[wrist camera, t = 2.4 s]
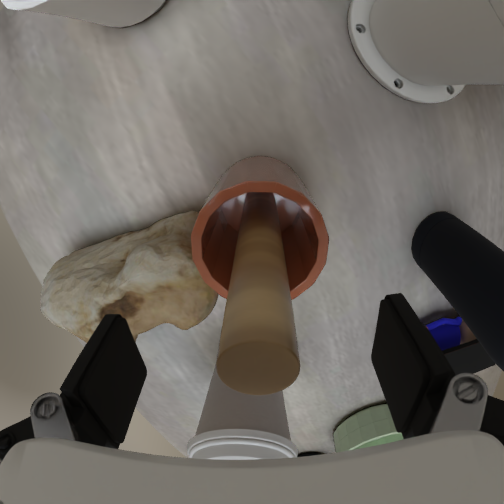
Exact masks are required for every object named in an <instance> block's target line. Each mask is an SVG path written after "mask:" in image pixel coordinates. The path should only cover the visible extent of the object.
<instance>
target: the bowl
mask: <svg viewBox="0 0 504 504" xmlns="http://www.w3.org/2000/svg"><path fill="white" fill-rule="evenodd" d="M333 438H334V446H335V452H343V451H349V450H355V449H360V448H366V447H371V446H376V445H381V444H386V443H390V442H395V441H399V440H403V436H402V433H401V432H400V433H398V432H397V431H396V428H395V425H394V422H393V419H392V416H391V413H390V410H389V408H388V405H387V404H381V405H376V406H373V407H369V408H367V409H364V410H362V411H359V412H357V413H355V414H354V415H352V416H351V417H349V418H348V419H346V420H345V421H344V422H343V423H342V424H341V425H339V426H338V427H337V429H336V431H335V432H334V434H333ZM411 438H412V437H411Z"/></svg>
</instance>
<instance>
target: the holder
mask: <svg viewBox="0 0 504 504" xmlns="http://www.w3.org/2000/svg"><path fill="white" fill-rule="evenodd" d="M249 192H264V193H273V195H274V196H275V199H276V205H277V211H278V217H279V223H280V229H281V235H282V241H283V248H284V254H285V261H286V267H287V274H288V281H289V287H290V294H291V300H292V299H294V298H296V297H297V296H299V295H300V294H301V293H303V292H304V291H305V290H306V289H308V288H309V287H310V286H312V285H313V284H314V282H315V281H316V279H317V277H318V276H319V274H320V272H321V271H322V269H323V267H324V266H325V264H326V260H327V252H328V244H329V236H328V233H327V230H326V227H325V223H324V220H323V217H322V215H321V213H320V211H319V209H318V208H317V206H316V204H315V202H314V201H313V199H312V197H311V196H310V194H309V192H308V191H307V189H306V187H305V185H304V184H303V182H302V181H301V179H300V178H299V176H298V175H297V174H296V173H295V172H294V170H292V169H291V168H290V167H289V166H288V165H287V164H285V163H284V162H282V161H280V160H277V159H275V158H271V157H266V156H254V157H249V158H246V159H243V160H241V161H238V162H237V163H235V164H234V165H232V166H231V167H230V168H229V169H228V170H227V171H226V172H225V173H224V174H223V175H222V176H221V178H220V179H219V181H218V182H217V184H216V186H215V187H214V189H213V190H212V192H211V194H210V195H209V197H208V199H207V200H206V202H205V204H204V205H203V207H202V208H201V210H200V212H199V214H198V217H197V220H196V222H195V225H194V228H193V230H192V233H191V247H192V259H193V262H194V263H195V265H196V267H197V269H198V271H199V273H200V275H201V277H202V279H203V280H204V282H205V283H206V284H207V285H209V286H210V287H211V288H212V289H213V290H214V291H216V292H217V293H218V294H219V295H220V296H222V297H224V298H226V299H227V296H228V290H229V284H230V278H231V273H232V267H233V261H234V256H235V250H236V245H237V239H238V233H239V228H240V222H241V217H242V212H243V206H244V201H245V197H246V195H247V194H248V193H249Z"/></svg>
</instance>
